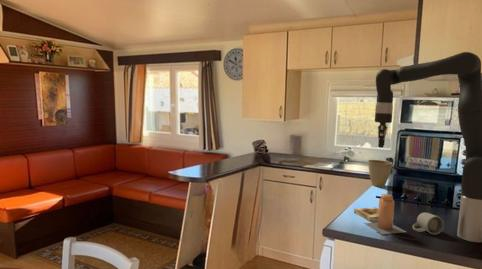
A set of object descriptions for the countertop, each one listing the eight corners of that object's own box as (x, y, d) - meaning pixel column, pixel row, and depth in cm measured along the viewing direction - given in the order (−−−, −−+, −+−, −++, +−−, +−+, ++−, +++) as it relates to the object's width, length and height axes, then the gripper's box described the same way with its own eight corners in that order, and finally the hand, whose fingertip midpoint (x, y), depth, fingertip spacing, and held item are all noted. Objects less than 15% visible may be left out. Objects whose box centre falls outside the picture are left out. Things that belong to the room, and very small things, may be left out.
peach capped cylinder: (377, 223, 148) (379, 192, 146) (392, 226, 145) (394, 194, 144) (376, 229, 141) (379, 197, 140) (392, 231, 139) (394, 199, 137)
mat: (387, 223, 151) (387, 221, 151) (406, 233, 140) (406, 231, 140) (364, 224, 148) (364, 223, 148) (381, 235, 137) (382, 233, 137)
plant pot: (384, 189, 211) (386, 164, 209) (362, 185, 222) (364, 161, 220) (394, 186, 221) (396, 162, 219) (372, 181, 232) (374, 159, 230)
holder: (375, 212, 166) (375, 207, 165) (392, 220, 154) (392, 215, 154) (353, 213, 163) (354, 208, 162) (369, 222, 151) (369, 217, 151)
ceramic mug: (430, 227, 148) (431, 210, 147) (443, 234, 140) (444, 216, 139) (407, 228, 146) (408, 210, 146) (420, 235, 138) (421, 217, 138)
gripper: (392, 113, 151) (389, 148, 152) (392, 112, 163) (390, 145, 165) (374, 112, 154) (371, 147, 155) (376, 111, 167) (373, 144, 168)
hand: (381, 146), depth 160 cm, fingers open, 8 cm apart
